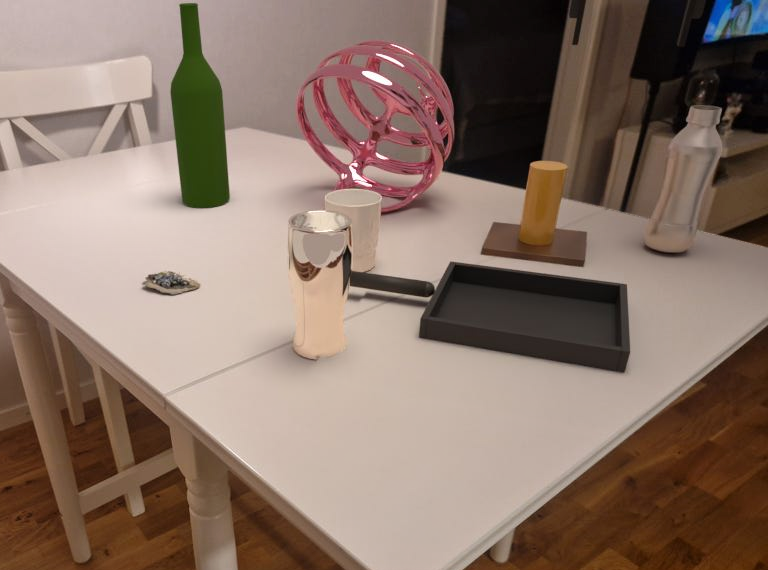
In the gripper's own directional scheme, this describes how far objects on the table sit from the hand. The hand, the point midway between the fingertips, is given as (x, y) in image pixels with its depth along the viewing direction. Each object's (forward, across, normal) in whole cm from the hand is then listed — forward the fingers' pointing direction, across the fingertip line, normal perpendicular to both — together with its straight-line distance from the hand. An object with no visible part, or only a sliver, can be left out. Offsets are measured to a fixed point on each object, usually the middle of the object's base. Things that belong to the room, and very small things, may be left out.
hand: (626, 45), depth 93 cm
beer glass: (+27, -27, -52) cm, 64 cm away
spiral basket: (+27, -36, +2) cm, 45 cm away
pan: (+27, -6, -38) cm, 47 cm away
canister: (+25, -7, -13) cm, 29 cm away
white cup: (+27, -31, -28) cm, 50 cm away
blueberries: (+27, -52, -43) cm, 73 cm away
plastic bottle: (+27, +11, -7) cm, 30 cm away
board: (+27, -7, -13) cm, 31 cm away
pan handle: (+25, -23, -38) cm, 51 cm away
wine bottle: (+27, -66, -8) cm, 72 cm away
